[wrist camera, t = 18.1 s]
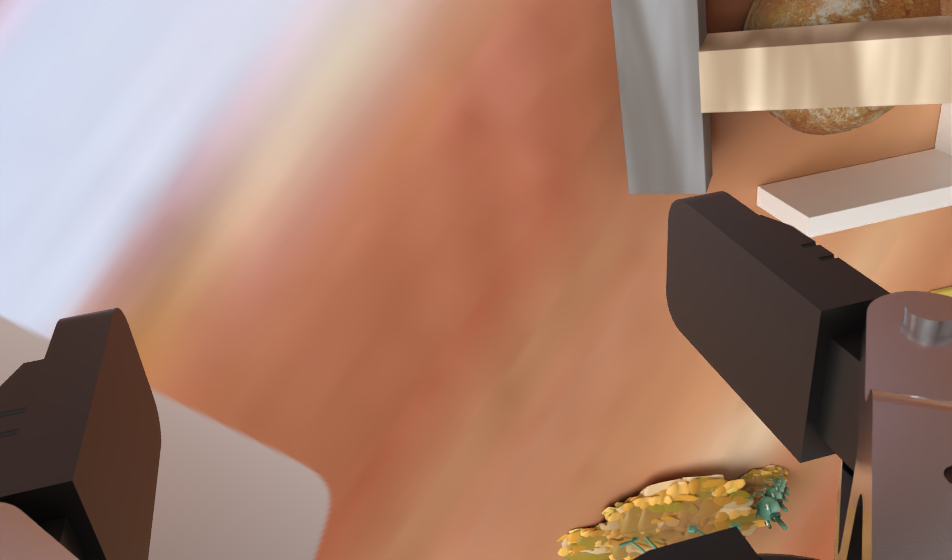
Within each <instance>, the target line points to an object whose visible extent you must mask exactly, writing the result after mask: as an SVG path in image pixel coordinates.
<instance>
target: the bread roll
mask: <svg viewBox="0 0 952 560" xmlns="http://www.w3.org/2000/svg"><path fill="white" fill-rule="evenodd" d="M933 16H941V6H940V0H755V1H754V2H753V5H752V7H751V9H750V11H749V13H748V16H747V19H746V22H745V24H744V31H749V30H762V29H775V28H788V27H802V26H815V25H828V24H841V23H854V22H867V21H880V20H893V19H906V18H920V17H933ZM894 106H895V105H890V106H864V107H839V108H813V109H787V110H770V113H771V115H773V116H775V117H776V118H778V119H779V120H780V121H782V122H783V123H784V124H786V125H787V126H789V127H790V128H792V129H794V130H797V131H800V132H803V133H809V134H817V135H826V134H835V133H839V132H844V131H850V130H852V129H854V128H858V127H860V126H862V125H865V124H867V123H869V122H871V121H873V120H875V119H876V118H878V117H880V116H882V115H883V114H884V113H886V112H887V111H889V110H890V109H891V108H892V107H894Z"/></svg>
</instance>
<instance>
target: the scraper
mask: <svg viewBox="0 0 952 560" xmlns="http://www.w3.org/2000/svg"><path fill="white" fill-rule="evenodd" d="M611 7H612V18H613V28H614V39H615V49H616V60H617V71H618V81H619V92H620V102H621V113H622V124H623V134H624V145H625V155H626V166H627V177H628V187H629V194H706V192H707V189H708V186H709V183H710V180H711V177H712V151H711V126H710V113H711V112H736V111H762V110H787V109H813V108H839V107H864V106H890V105H915V104H941V103H952V15H946V16H933V17H920V18H906V19H893V20H880V21H867V22H854V23H841V24H828V25H815V26H802V27H788V28H775V29H762V30H749V31H736V32H723V33H710V34H707V26H706V1H705V0H611Z"/></svg>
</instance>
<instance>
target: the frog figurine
mask: <svg viewBox="0 0 952 560" xmlns="http://www.w3.org/2000/svg"><path fill="white" fill-rule="evenodd" d="M787 471H788V470H787V469H786V468H785V469H784V468H782V467H781V466H777V465H773V464H772V465H771V464H770V465H769V466H768V465H766V466H765V467H762V468H761V469H757V470H755V469H753V470H750V471H749V473H746V474H744V475H743V476H741V477H740V479H737V480H732V481H728V480H727V481H725V478H724V476H723V475H712V476H702V477H685V478H681V479H676V480H671V481H666V482H661V483H657V484H653V485H650V486H647V487H645V488H644V489H643V490H642V491H641V492H640V494H639V495H638V496H637V497H630V498H628V499H627V500H626V501H625V502H624V503H621V502H616V503H615V507H618V508H613V507H608V508H606V509H605V510H604V511H603V512H602V514H603V515H605V519H606V520H607V522H606V523H600V524H598V525H597V526H595V527H594V528H586V529H582V528H580V529H574V530H572V531H569V534H565V535H563V536H562V537H561V538H560V539H558V540H557V541H562V543H561V544H562V547H563V548H561V549H560V551H559V553H558V554H559V555H560V556H565V557H564V558H565V559H568V560H632V559H634V558H636V557H638V556H640V555H641V554H643V553H645V552H647V551H649V550H652V549H655V548H659V547H662V546H666V545H670V544H673V543H677V542H681V541H684V540H688V539H691V538H695V537H699V536H702V535H706V534H710V533H713V532H717V531H720V530H724V529H728V528H731V527H735V526H737V528H738V529H739V531H740V532H741V533H742V535H743V536H744V535H750V534H752V533H753V532H754V531H755V530H756V528H757V527H764V526H766V525H767V526H769V525H770V522H769V521H768V520H772V521H773V522H777V523H778V524H779V525H780V526H781V527H782V528H783V529H784V530H786V529H787V526H786V525H785V524H784V522H783V521H782V520H781V519H780V516H781V515H780V507H781V508H782V509H783V510H784V511H785V512H787V511H788V510H787V508H786V507H785V506H784V505H783V504H782V502H783V501H782V498H783V499H784V500H785V502H788V500H787V499H786V497H785V496H784V493H785V494H786V495H787V496H789V494H788V493H787V492H786V491H785V490H787V491H789V489H788V488H787V487H786V482H787V481H788V479H787V478H786V477H785V476H786V475H787V474H788V472H787ZM741 478H743V479H741ZM764 493H765V496H764ZM761 496H762V498H761V499H760V500H759V501H758V502H757V503H753V502H754V500H753V499H754V498H755V497H761ZM752 504H756V506H751V505H752ZM771 527H772V526H771V525H770V527H769V529H771ZM744 537H745V536H744Z"/></svg>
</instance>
